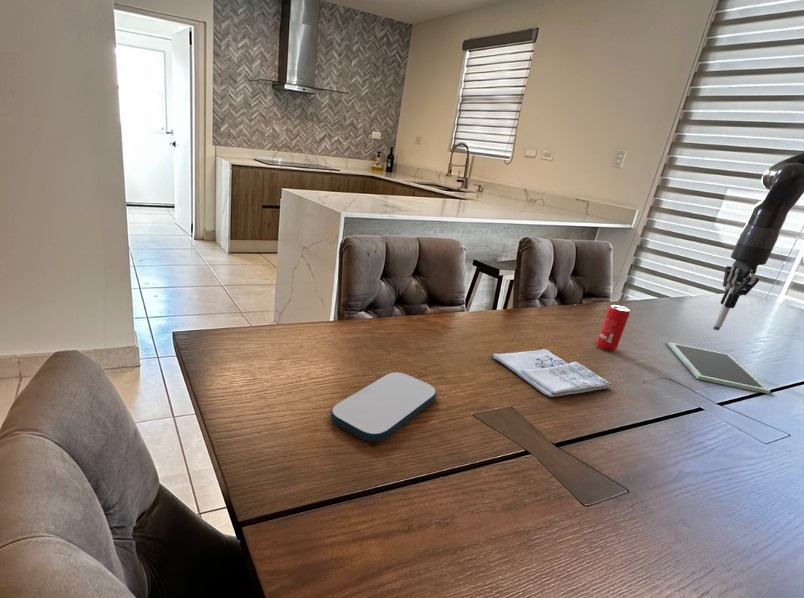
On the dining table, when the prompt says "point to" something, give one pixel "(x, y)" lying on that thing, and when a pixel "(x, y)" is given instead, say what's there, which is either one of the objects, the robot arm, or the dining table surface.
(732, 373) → the tablet
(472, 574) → the dining table surface
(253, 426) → the dining table surface
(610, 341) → the beverage can
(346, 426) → the external hard drive
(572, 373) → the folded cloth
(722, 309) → the stylus
